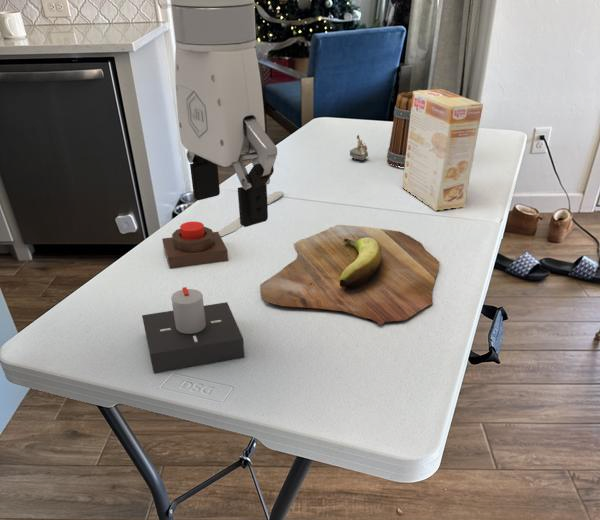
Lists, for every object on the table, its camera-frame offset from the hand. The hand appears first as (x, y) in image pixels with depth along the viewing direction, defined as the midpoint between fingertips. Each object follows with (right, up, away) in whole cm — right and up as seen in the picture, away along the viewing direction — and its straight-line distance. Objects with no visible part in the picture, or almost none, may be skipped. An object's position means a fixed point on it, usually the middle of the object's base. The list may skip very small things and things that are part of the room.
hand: (229, 209), depth 64 cm
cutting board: (+17, +1, +33) cm, 37 cm away
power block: (-11, +4, +37) cm, 39 cm away
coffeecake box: (+36, +22, +59) cm, 73 cm away
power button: (-11, +7, +35) cm, 37 cm away
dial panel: (-7, -14, +15) cm, 21 cm away
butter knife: (-2, +16, +51) cm, 54 cm away
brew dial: (-7, -11, +13) cm, 19 cm away
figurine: (+22, +38, +79) cm, 91 cm away
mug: (+35, +38, +79) cm, 95 cm away
